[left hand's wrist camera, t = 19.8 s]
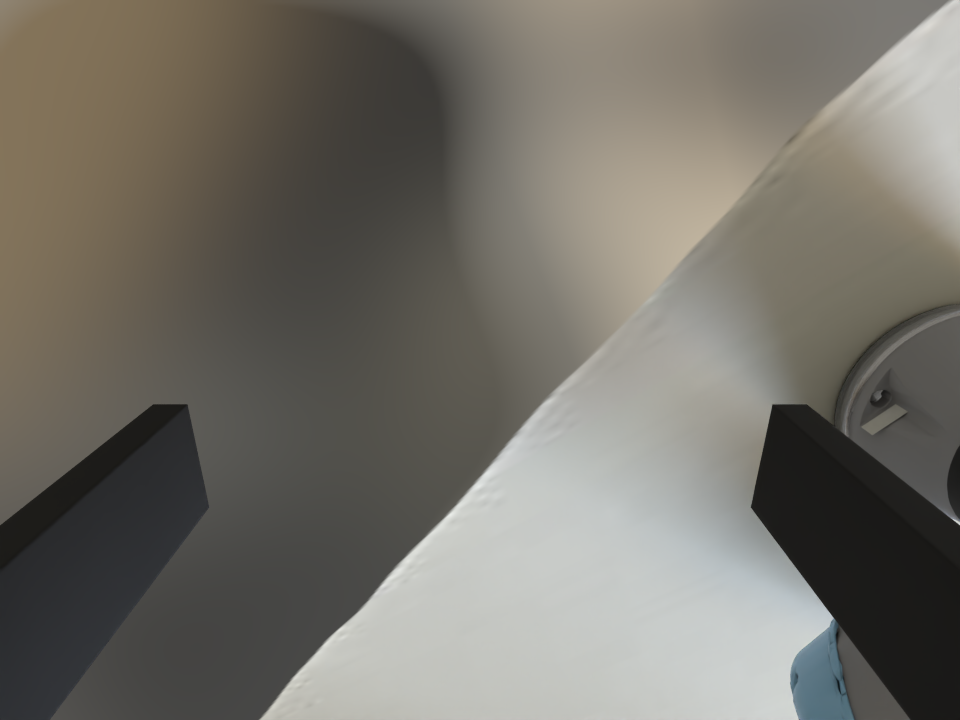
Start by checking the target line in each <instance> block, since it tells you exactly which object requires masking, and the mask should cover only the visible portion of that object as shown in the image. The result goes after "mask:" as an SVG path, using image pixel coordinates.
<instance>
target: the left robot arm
mask: <svg viewBox="0 0 960 720" xmlns="http://www.w3.org/2000/svg"><path fill="white" fill-rule="evenodd" d="M208 508H209V505H208V500H207V495H206V490H205V486H204V481H203V476H202V471H201V467H200V462H199V457H198V452H197V448H196V443H195V438H194V433H193V429H192V424H191V419H190V414H189V410H188V405H186V404H182V405H180V404H172V405H171V404H167V405H165V404H164V405H163V404H162V405H161V404H159V405H158V404H157V405H156V404H155V405H152V406H151V407H149V408H148V409H147V410H146V411H144V412H143V413H142V414H141V415H139V416H138V417H137V418H136V419H134V420H133V421H132V422H130V423H129V424H128V425H127V426H125V427H124V428H123V429H122V430H120V431H119V432H118V433H117V434H115V435H114V436H113V437H112V438H110V439H109V440H108V441H107V442H105V443H104V444H103V445H101V446H100V447H99V448H98V449H96V450H95V451H94V452H93V453H91V454H90V455H89V456H88V457H86V458H85V459H84V460H82V461H81V462H80V463H79V464H77V465H76V466H75V467H74V468H72V469H71V470H70V471H68V472H67V473H66V474H65V475H63V476H62V477H61V478H60V479H58V480H57V481H56V482H55V483H53V484H52V485H51V486H49V487H48V488H47V489H46V490H44V491H43V492H42V493H41V494H39V495H38V496H37V497H36V498H34V499H33V500H32V501H30V502H29V503H28V504H27V505H25V506H24V507H23V508H22V509H20V510H19V511H18V512H17V513H15V514H14V515H13V516H12V517H10V518H9V519H8V520H7V521H5V522H4V523H3V524H1V525H0V720H50V719H51V717H52V716H53V715H54V713H55V712H56V711H57V709H58V708H59V707H60V705H61V704H62V703H63V701H64V700H65V699H66V697H67V696H68V695H69V693H70V692H71V691H72V689H73V688H74V687H75V685H76V684H77V683H78V681H79V680H80V679H81V677H82V676H83V675H84V673H85V672H86V671H87V669H88V668H89V667H90V665H91V664H92V663H93V661H94V660H95V659H96V657H97V656H98V655H99V653H100V652H101V651H102V649H103V648H104V647H105V645H106V644H107V643H108V641H109V640H110V639H111V637H112V636H113V635H114V633H115V632H116V631H117V629H118V628H119V627H120V625H121V624H122V623H123V621H124V620H125V619H126V617H127V616H128V615H129V613H130V612H131V611H132V609H133V608H134V607H135V605H136V604H137V603H138V601H139V600H140V599H141V597H142V596H143V595H144V593H145V592H146V591H147V589H148V588H149V587H150V585H151V584H152V583H153V581H154V580H155V579H156V577H157V576H158V575H159V573H160V572H161V571H162V569H163V568H164V567H165V565H166V564H167V563H168V561H169V560H170V559H171V557H172V556H173V555H174V553H175V552H176V551H177V549H178V548H179V547H180V545H181V544H182V543H183V541H184V540H185V539H186V537H187V536H188V535H189V533H190V532H191V531H192V529H193V528H194V527H195V525H196V524H197V523H198V521H199V520H200V519H201V517H202V516H203V515H204V513H205V512H206V511H207V509H208ZM751 508H752V509H753V511H754V512H755V513H756V515H757V516H758V517H759V519H760V520H761V521H762V523H763V524H764V525H765V527H766V528H767V529H768V531H769V532H770V533H771V535H772V536H773V537H774V539H775V540H776V541H777V543H778V544H779V545H780V547H781V548H782V549H783V551H784V552H785V553H786V555H787V556H788V557H789V559H790V560H791V561H792V563H793V564H794V565H795V567H796V568H797V569H798V571H799V572H800V573H801V575H802V576H803V577H804V579H805V580H806V581H807V583H808V584H809V585H810V587H811V588H812V589H813V591H814V592H815V593H816V595H817V596H818V597H819V599H820V600H821V601H822V603H823V604H824V605H825V607H826V608H827V609H828V611H829V612H830V613H831V615H832V616H833V617H834V619H833V620H832V621H831V624H830V627H829V628H828V629H826V630H825V631H824V632H823V633H822V634H820V635H819V636H818V637H817V638H816V639H814V640H813V641H812V642H811V643H809V644H808V645H807V646H806V647H805V648H803V649H802V650H801V651H800V652H799V653H798V654H797V656H796V657H795V659H794V661H793V664H792V667H791V674H790V678H791V682H790V684H791V689H792V694H793V702H794V705H795V709H796V712H797V715H798V718H799V720H960V525H959V524H957V523H956V522H955V521H954V520H952V519H955V520H958V521H960V304H956V305H950V306H945V307H940V308H937V309H934V310H930V311H927V312H925V313H922V314H920V315H917V316H915V317H913V318H911V319H909V320H907V321H905V322H904V323H902V324H900V325H898V326H897V327H895V328H894V329H892V330H891V331H889V332H888V333H887V334H885V335H884V336H883V337H881V338H880V339H879V340H878V341H877V342H876V343H875V344H873V345H872V346H871V347H870V348H869V349H868V350H867V351H866V352H865V354H864V355H863V356H862V357H861V358H860V359H859V361H858V362H857V363H856V365H855V366H854V368H853V369H852V371H851V372H850V374H849V375H848V377H847V379H846V381H845V383H844V385H843V387H842V390H841V392H840V395H839V398H838V401H837V406H836V411H835V426H833V425H832V424H831V423H830V422H828V421H827V420H826V419H824V418H823V417H822V416H821V415H819V414H818V413H817V412H816V411H814V410H813V409H812V408H811V407H809V406H808V405H807V404H773V405H772V410H771V414H770V419H769V424H768V429H767V433H766V438H765V443H764V448H763V452H762V457H761V462H760V467H759V471H758V476H757V481H756V485H755V490H754V495H753V500H752V504H751ZM951 518H952V519H951Z"/></svg>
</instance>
